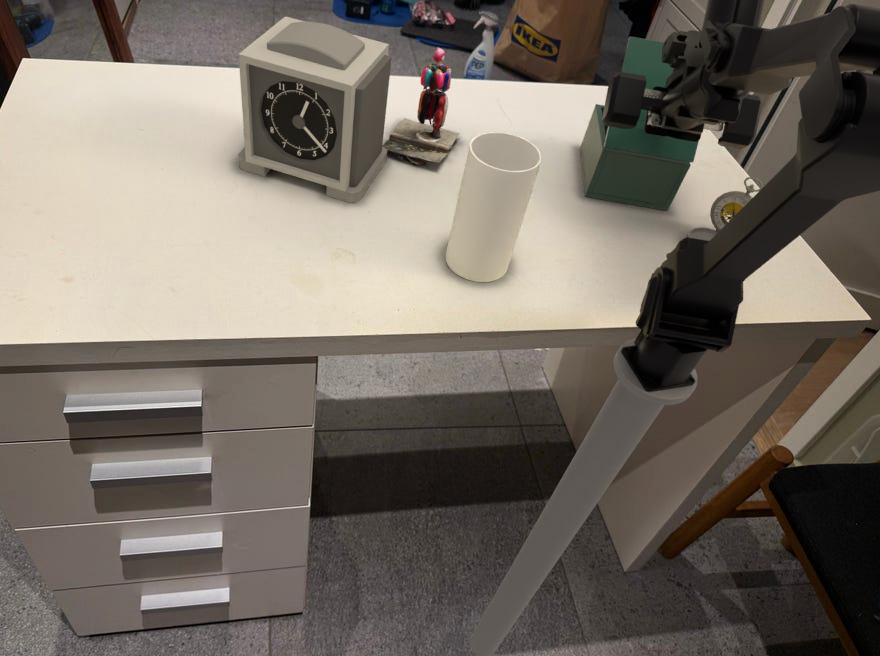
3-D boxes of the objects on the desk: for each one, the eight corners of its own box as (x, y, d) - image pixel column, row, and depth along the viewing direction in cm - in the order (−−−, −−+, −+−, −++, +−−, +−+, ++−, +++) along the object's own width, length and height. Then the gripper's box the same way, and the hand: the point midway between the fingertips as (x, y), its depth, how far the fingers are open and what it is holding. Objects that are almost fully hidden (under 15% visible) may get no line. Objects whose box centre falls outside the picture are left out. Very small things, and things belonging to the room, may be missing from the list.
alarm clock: (235, 167, 93) (224, 35, 79) (276, 125, 102) (273, -2, 88) (356, 204, 91) (367, 74, 77) (388, 157, 99) (402, 33, 86)
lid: (628, 37, 90) (630, 36, 89) (719, 53, 90) (722, 52, 89) (603, 147, 93) (604, 146, 92) (691, 162, 93) (693, 162, 92)
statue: (402, 130, 107) (417, 31, 98) (457, 145, 106) (477, 47, 96) (378, 154, 99) (392, 50, 89) (437, 171, 98) (457, 67, 88)
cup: (434, 265, 84) (457, 154, 72) (460, 233, 89) (486, 123, 77) (493, 291, 82) (527, 181, 70) (516, 256, 87) (551, 147, 75)
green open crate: (579, 148, 108) (595, 103, 102) (655, 162, 108) (676, 117, 102) (584, 196, 99) (602, 149, 93) (667, 210, 99) (690, 165, 93)
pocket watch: (686, 256, 92) (721, 195, 84) (683, 221, 97) (715, 161, 90) (745, 270, 91) (785, 210, 84) (738, 234, 97) (776, 175, 89)
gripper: (802, 34, 75) (734, 81, 91) (641, 5, 75) (600, 58, 91) (781, 132, 76) (717, 163, 92) (621, 104, 76) (585, 139, 92)
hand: (655, 129), depth 91 cm, fingers closed, pressing on lid
